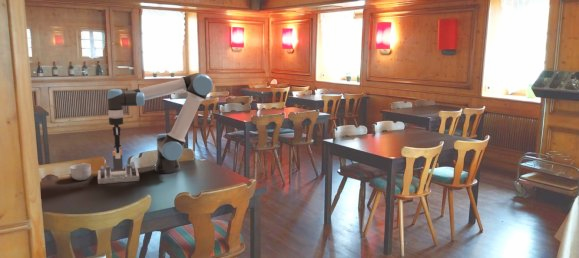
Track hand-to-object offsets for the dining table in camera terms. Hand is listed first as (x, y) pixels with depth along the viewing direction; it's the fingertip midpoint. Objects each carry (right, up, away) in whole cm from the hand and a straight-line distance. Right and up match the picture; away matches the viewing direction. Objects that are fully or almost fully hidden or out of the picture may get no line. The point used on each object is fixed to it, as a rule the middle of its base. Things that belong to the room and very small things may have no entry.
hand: (118, 158), depth 265 cm
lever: (-2, -7, +7) cm, 10 cm away
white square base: (-3, -9, +7) cm, 12 cm away
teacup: (-23, -12, +6) cm, 27 cm away
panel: (-3, -12, +8) cm, 15 cm away
